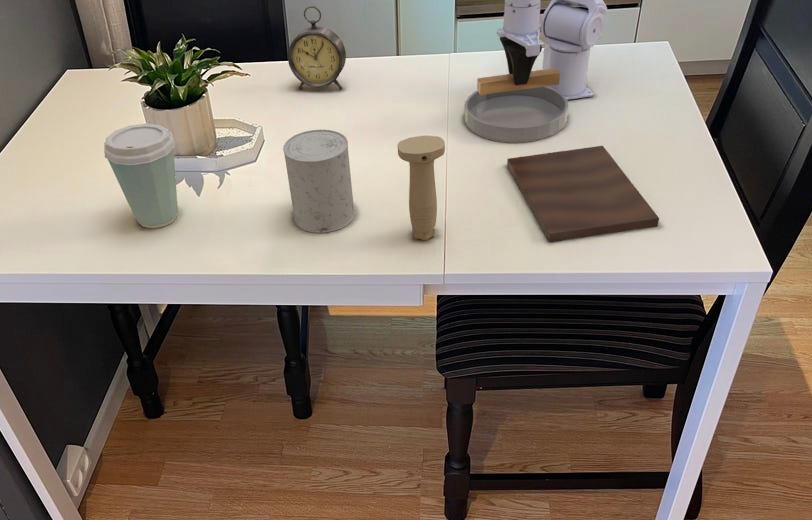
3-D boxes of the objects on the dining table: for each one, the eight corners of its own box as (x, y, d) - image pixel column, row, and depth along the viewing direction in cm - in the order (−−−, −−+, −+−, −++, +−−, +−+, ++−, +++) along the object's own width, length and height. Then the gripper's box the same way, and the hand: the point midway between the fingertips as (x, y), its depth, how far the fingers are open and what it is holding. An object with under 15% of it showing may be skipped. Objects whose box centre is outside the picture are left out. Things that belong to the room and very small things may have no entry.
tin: (454, 103, 149) (454, 89, 147) (548, 90, 149) (549, 76, 148) (478, 148, 135) (478, 133, 133) (581, 134, 136) (582, 119, 134)
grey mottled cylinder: (333, 239, 118) (324, 167, 110) (281, 223, 122) (269, 153, 114) (366, 207, 124) (360, 136, 116) (316, 193, 128) (307, 124, 120)
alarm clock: (291, 92, 158) (280, 11, 148) (299, 80, 162) (288, 0, 152) (344, 93, 156) (336, 11, 145) (350, 81, 160) (343, 0, 149)
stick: (477, 89, 138) (477, 78, 137) (555, 79, 139) (556, 67, 137) (480, 95, 137) (480, 83, 135) (559, 84, 137) (560, 72, 136)
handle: (448, 241, 115) (447, 150, 105) (404, 247, 115) (400, 156, 105) (442, 223, 118) (441, 133, 109) (400, 229, 118) (395, 139, 109)
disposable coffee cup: (135, 201, 131) (110, 118, 121) (199, 198, 130) (178, 114, 120) (119, 238, 123) (90, 152, 113) (186, 235, 122) (164, 148, 112)
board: (506, 166, 130) (507, 158, 129) (601, 153, 130) (602, 145, 129) (549, 242, 113) (549, 233, 112) (657, 226, 113) (659, 218, 112)
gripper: (487, -10, 134) (485, 67, 142) (510, 20, 122) (507, 101, 131) (528, -16, 134) (523, 61, 143) (555, 14, 123) (548, 96, 131)
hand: (518, 80), depth 137 cm, fingers closed on stick, 2 cm apart
